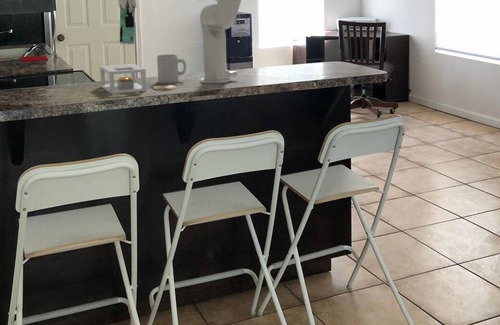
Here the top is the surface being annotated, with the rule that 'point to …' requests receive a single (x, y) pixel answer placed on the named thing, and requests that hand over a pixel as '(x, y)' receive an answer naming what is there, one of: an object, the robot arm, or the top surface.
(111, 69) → the white open box frame
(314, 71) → the top surface
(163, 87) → the coaster
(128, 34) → the spray can
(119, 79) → the button
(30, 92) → the top surface
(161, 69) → the mug
